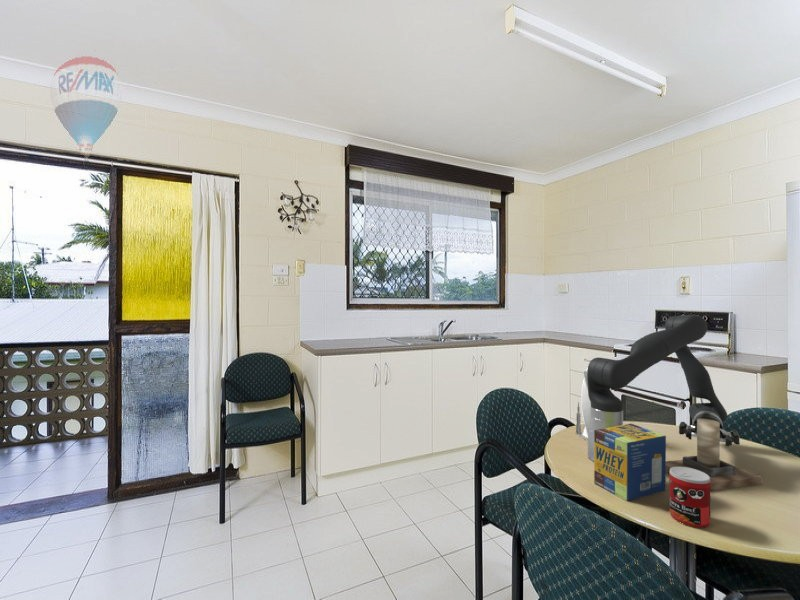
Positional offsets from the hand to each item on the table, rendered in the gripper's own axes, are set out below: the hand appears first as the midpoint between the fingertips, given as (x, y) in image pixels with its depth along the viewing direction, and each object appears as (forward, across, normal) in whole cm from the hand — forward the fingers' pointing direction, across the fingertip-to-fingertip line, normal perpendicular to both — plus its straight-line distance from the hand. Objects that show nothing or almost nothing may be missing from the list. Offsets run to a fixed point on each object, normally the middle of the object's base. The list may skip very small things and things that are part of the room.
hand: (708, 439), depth 111 cm
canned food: (+29, -4, +12) cm, 31 cm away
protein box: (+20, -17, +12) cm, 29 cm away
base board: (-2, 0, +11) cm, 12 cm away
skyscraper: (-15, -34, +12) cm, 39 cm away
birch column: (-2, 0, +9) cm, 9 cm away
